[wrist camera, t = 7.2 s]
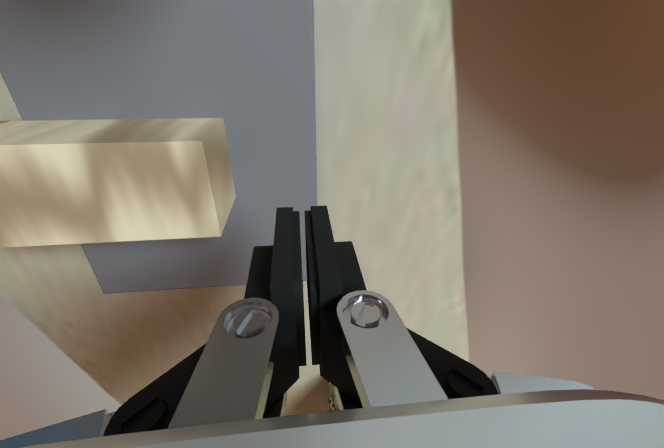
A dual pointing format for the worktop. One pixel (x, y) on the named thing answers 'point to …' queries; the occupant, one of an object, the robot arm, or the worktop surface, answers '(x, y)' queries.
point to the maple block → (113, 180)
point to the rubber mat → (180, 109)
